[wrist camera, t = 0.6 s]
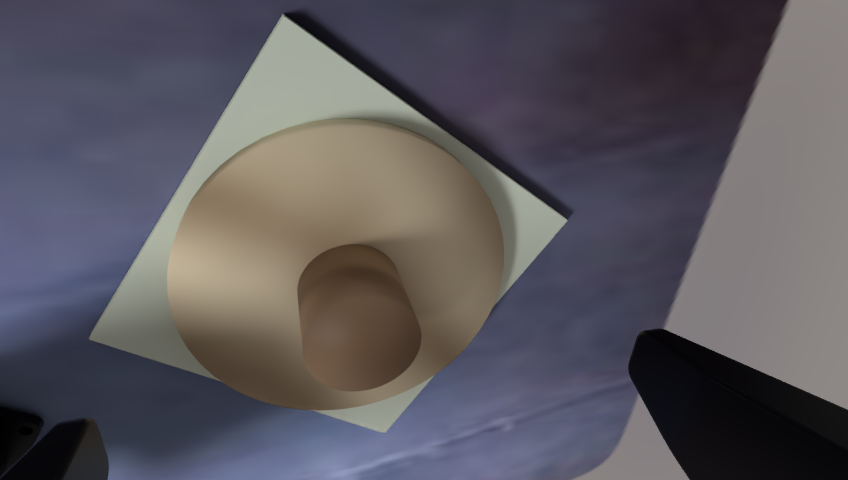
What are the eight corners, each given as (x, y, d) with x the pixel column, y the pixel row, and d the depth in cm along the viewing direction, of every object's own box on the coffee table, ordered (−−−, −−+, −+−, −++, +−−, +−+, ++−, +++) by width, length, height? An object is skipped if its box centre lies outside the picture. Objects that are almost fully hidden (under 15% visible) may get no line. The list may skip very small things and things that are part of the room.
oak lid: (382, 424, 26) (402, 505, 22) (108, 334, 20) (70, 427, 16) (552, 223, 23) (610, 279, 19) (289, 39, 16) (296, 67, 13)
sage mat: (382, 424, 27) (384, 433, 26) (93, 329, 20) (88, 339, 20) (561, 214, 23) (567, 220, 23) (282, 13, 16) (283, 15, 16)
